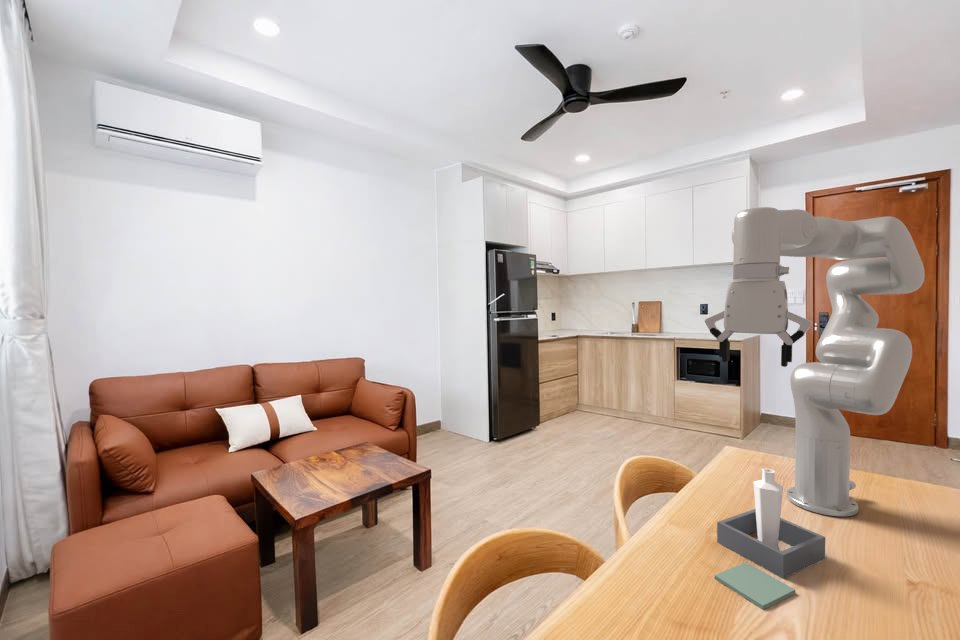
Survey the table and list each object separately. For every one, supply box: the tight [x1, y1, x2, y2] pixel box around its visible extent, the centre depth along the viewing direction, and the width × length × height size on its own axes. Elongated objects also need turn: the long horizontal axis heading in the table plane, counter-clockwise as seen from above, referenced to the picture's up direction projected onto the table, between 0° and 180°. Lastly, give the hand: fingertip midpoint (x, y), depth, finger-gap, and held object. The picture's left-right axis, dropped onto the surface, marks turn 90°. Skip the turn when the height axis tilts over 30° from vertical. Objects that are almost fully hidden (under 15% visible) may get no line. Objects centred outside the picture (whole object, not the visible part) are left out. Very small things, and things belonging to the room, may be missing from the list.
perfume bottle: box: [753, 468, 784, 551], centre depth 79 cm, size 5×4×15 cm
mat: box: [714, 561, 796, 610], centre depth 70 cm, size 8×8×1 cm
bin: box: [716, 509, 826, 579], centre depth 80 cm, size 12×12×4 cm
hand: (754, 363), depth 83 cm, fingers open, 9 cm apart
